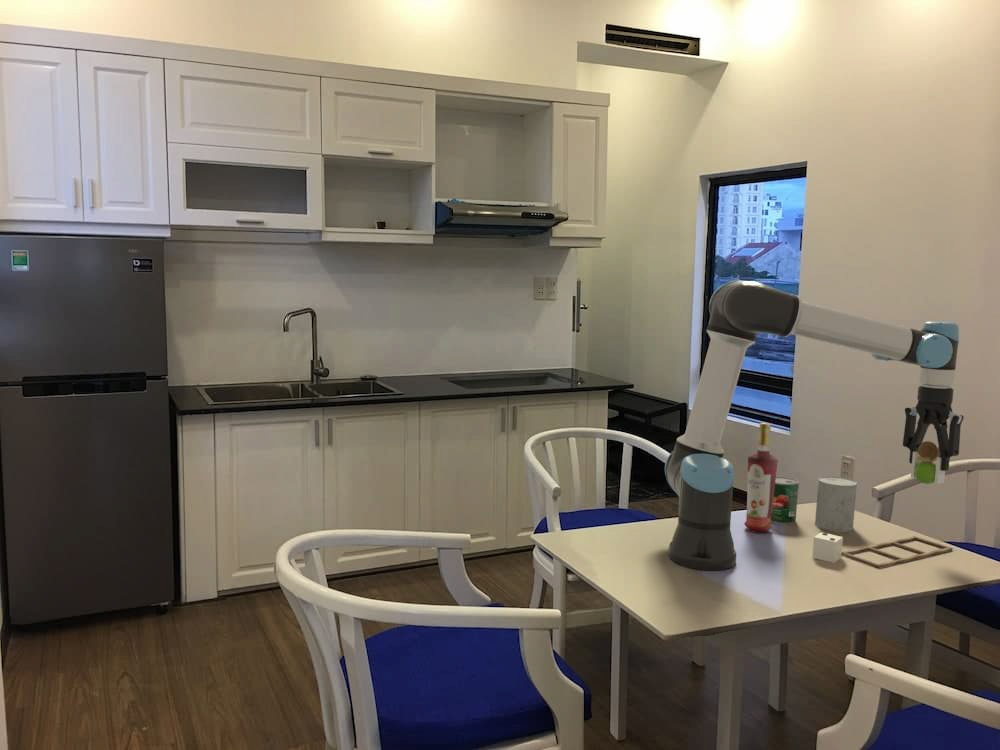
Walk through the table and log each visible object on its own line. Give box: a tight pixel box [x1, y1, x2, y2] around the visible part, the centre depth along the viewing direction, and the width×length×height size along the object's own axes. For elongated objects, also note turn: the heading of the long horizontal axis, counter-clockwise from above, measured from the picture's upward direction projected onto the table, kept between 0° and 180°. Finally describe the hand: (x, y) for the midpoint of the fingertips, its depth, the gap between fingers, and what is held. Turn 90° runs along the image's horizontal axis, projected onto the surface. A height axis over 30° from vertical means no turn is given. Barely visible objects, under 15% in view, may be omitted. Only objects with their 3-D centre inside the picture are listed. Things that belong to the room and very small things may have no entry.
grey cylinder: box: [814, 476, 858, 533], centre depth 214 cm, size 10×10×12 cm
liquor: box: [743, 422, 779, 534], centre depth 207 cm, size 7×7×28 cm
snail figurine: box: [914, 440, 940, 485], centre depth 196 cm, size 5×6×12 cm
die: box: [811, 531, 844, 564], centre depth 189 cm, size 5×5×5 cm
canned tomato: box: [771, 476, 800, 525], centre depth 218 cm, size 8×8×11 cm
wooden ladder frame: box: [841, 535, 954, 569], centre depth 195 cm, size 28×10×1 cm, turn 120°
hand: (927, 480), depth 197 cm, fingers closed on snail figurine, 5 cm apart
